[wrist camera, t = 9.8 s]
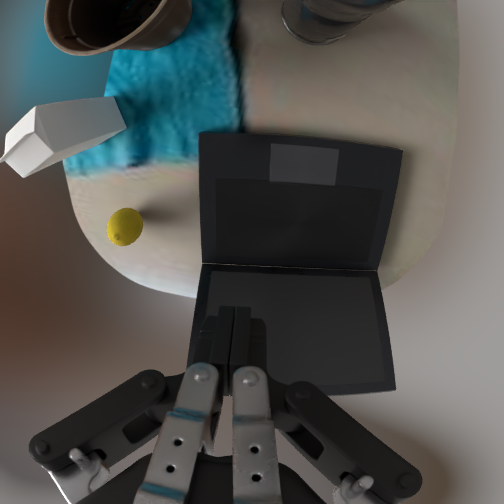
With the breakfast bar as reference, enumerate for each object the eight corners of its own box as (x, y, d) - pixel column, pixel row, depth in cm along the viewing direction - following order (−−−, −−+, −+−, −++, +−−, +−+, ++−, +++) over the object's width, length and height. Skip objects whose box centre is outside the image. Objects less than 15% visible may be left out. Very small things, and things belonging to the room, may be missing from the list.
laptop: (200, 131, 41) (198, 133, 39) (398, 148, 40) (403, 150, 39) (203, 257, 51) (202, 263, 49) (374, 265, 51) (377, 271, 49)
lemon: (155, 217, 48) (138, 239, 41) (136, 237, 49) (118, 260, 42) (132, 194, 46) (111, 213, 39) (114, 215, 48) (92, 236, 41)
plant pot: (171, 80, 37) (123, 74, 23) (89, 48, 33) (24, 40, 19) (227, -9, 30) (209, -57, 16) (139, -35, 26) (92, -73, 12)
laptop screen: (183, 389, 36) (184, 390, 37) (396, 389, 36) (394, 391, 37) (202, 262, 49) (202, 266, 50) (377, 270, 49) (375, 273, 50)
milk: (127, 128, 40) (37, 162, 21) (98, 145, 41) (6, 189, 22) (113, 95, 38) (16, 108, 18) (84, 113, 39) (-14, 141, 20)
